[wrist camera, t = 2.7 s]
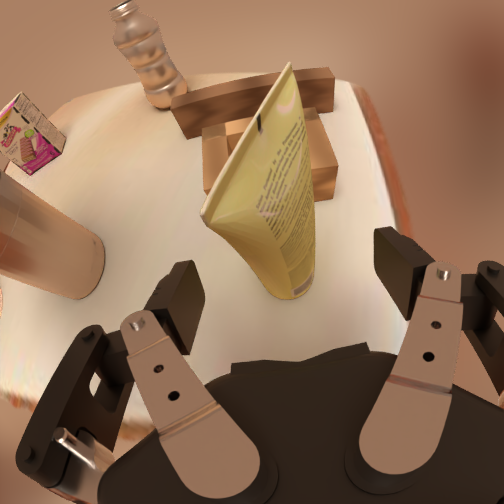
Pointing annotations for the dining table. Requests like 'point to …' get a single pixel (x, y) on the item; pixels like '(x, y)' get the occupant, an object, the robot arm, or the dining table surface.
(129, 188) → the dining table surface
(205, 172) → the block
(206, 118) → the wooden plank
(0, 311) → the decorative candle
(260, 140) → the tube
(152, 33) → the plastic bottle
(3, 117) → the candy bar box
